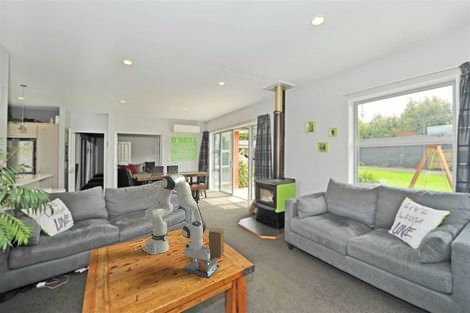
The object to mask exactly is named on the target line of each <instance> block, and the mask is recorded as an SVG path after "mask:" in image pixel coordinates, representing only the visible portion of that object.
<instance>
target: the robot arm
mask: <svg viewBox="0 0 470 313" xmlns="http://www.w3.org/2000/svg"><path fill="white" fill-rule="evenodd" d="M191 189H192V188H191V186H190V184H189V178H188V176H187V175H185V174H173V175H171V174H170V175H164V177H162V179H161V183H160V184H159V187H158V191H157V195H156V199H157V201H158V202H159V203H158V204H157V205H152V206H150V207H148V208H147V209H146V210H145V213H144V216H145V218H146V219H147V220H148V221H150V222H151V224H152V232H153V233H152V234H151V235H150V236H151V238H149V239H148V240H147V241H146V243H145V246H143V248H142V251H143V250H144V251H143V252H145V251H146V252H145V253H148V254H150V255H152V256H153V255H158V254H163V253H166V252H168V251H169V250H170V245H169V239H168V235H169V234H168V224H167V222H166V221H164V220H163V218H164V217H165V216H168V215H170V214H172V213H173V211H174V205H173V203H171V198H172V195H173V190H174V191H175V192H176V198H177V203H178V205H179V206H180V207H182V208H184V209H189V210H191V211H192V213H193V216H194V219H195V221H192V222H191V223H187V224H185V225H184V226H183V227H182V230H181V233H182V234H181V235H182V236H183V237H184V239H187V240H189V239H190V241H188V242H186V243H185V244H184V249H183V251H184V252H183V254H184V257H188V258H191V259H193V260H194V261H195V264H196V261H197V259H198V260H199V259H200V260H204V261H208V260H209V259H210V260H211V256H210V249H209V246H204V237H203V236H204V233H205V232H206V230H207V228H206V227H207V226H206V223H205V222H204V218H203V216H202V212H201V210H200V207H199V204H198V202H197V201H196V200H195V199H194V198H193V193H192V190H191Z"/></svg>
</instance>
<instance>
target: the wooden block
mask: <svg viewBox="0 0 470 313" xmlns="http://www.w3.org/2000/svg"><path fill="white" fill-rule="evenodd" d="M224 231H225V229H224V227H216V226H215V227H214V226H213V227H211V229H210V230H209V231H208V248H209V249H210V257H212V258H213V257H216V258H222V256H223V254H224V252H225V232H224Z"/></svg>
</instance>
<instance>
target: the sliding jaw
mask: <svg viewBox="0 0 470 313" xmlns="http://www.w3.org/2000/svg"><path fill="white" fill-rule="evenodd" d="M200 261H201V260H200V259H199V260H197V261H196V270H197V271H199V270H200Z"/></svg>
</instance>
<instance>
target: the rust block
mask: <svg viewBox="0 0 470 313" xmlns="http://www.w3.org/2000/svg"><path fill="white" fill-rule="evenodd" d="M210 260H211V258H210V259H209V260H208V261H204V260H201V261H200V270H201V271H205V265H206V264H207V263H208V262H209V261H210Z"/></svg>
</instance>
